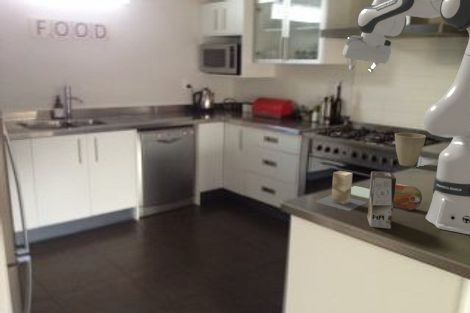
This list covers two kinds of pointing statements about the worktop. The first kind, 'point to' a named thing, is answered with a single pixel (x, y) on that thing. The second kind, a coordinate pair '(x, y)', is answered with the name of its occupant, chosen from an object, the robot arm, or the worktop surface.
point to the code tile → (348, 206)
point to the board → (360, 192)
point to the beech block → (341, 187)
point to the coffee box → (381, 199)
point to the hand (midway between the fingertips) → (360, 70)
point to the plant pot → (409, 147)
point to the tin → (407, 197)
